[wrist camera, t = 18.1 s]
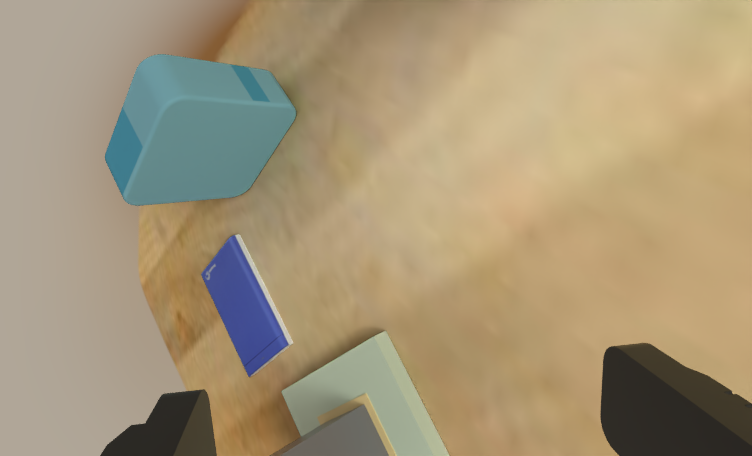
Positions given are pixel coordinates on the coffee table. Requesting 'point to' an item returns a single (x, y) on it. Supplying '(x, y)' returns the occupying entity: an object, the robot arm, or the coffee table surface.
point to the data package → (195, 130)
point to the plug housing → (339, 438)
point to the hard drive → (245, 306)
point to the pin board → (368, 398)
